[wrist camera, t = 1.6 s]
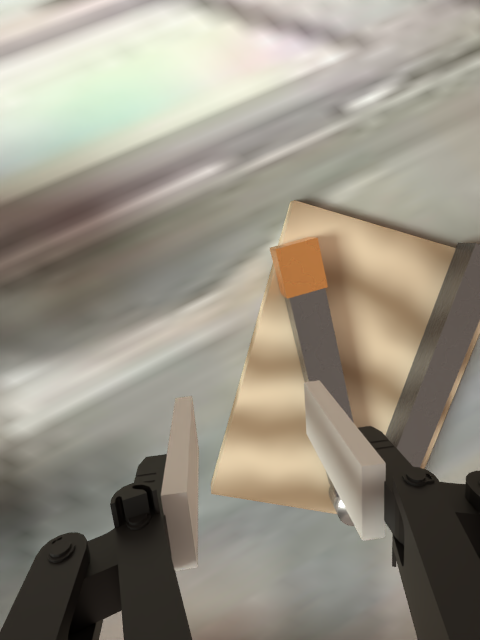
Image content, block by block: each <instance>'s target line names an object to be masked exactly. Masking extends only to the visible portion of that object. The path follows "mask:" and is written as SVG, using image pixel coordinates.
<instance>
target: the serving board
mask: <svg viewBox="0 0 480 640" xmlns="http://www.w3.org/2000/svg"><path fill="white" fill-rule="evenodd" d="M307 237H318V241H319V246H320V251H321V256H322V261H323V266H324V270H325V275H326V280H327V285H328V287H327V288H325V289H326V294H327V299H328V303H329V308H330V313H331V318H332V322H333V327H334V332H335V337H336V341H337V346H338V351H339V356H340V360H341V365H342V370H343V375H344V380H345V384H346V389H347V394H348V399H349V403H350V408H351V413H352V418H353V422H354V424H355V425H356V427H357V428H358V427H365V426H372V427H374V428H376V429H378V430H379V431H381V432H382V433H383V434H384V435H386V432H387V430H388V427H389V424H390V422H391V419H392V416H393V414H394V411H395V408H396V406H397V403H398V400H399V398H400V395H401V393H402V390H403V387H404V385H405V382H406V379H407V377H408V374H409V371H410V369H411V366H412V363H413V361H414V358H415V355H416V353H417V350H418V348H419V345H420V342H421V340H422V337H423V334H424V332H425V329H426V326H427V324H428V321H429V318H430V316H431V313H432V310H433V308H434V305H435V302H436V300H437V297H438V295H439V292H440V289H441V287H442V284H443V281H444V279H445V276H446V273H447V271H448V268H449V265H450V263H451V260H452V257H453V255H454V252H455V249H456V248H453V247H450V246H447V245H443V244H440V243H436V242H433V241H430V240H426V239H423V238H420V237H416V236H413V235H410V234H406V233H403V232H399V231H396V230H393V229H389V228H386V227H383V226H379V225H376V224H373V223H369V222H366V221H363V220H359V219H356V218H352V217H349V216H346V215H342V214H339V213H336V212H332V211H329V210H326V209H322V208H319V207H316V206H312V205H309V204H305V203H302V202H299V201H295V200H294V201H291V202H290V205H289V209H288V212H287V216H286V219H285V223H284V226H283V230H282V233H281V237H280V240H279V244H278V246H279V245H282V244H286V243H289V242H293V241H297V240H300V239H304V238H307ZM479 334H480V321H479V323H478V326H477V328H476V331H475V333H474V336H473V338H472V341H471V343H470V346H469V348H468V351H467V353H466V355H465V358H464V360H463V363H462V365H461V368H460V370H459V373H458V375H457V378H456V380H455V383H454V385H453V388H452V390H451V392H450V395H449V397H448V400H447V402H446V405H445V407H444V410H443V412H442V415H441V417H440V420H439V422H438V424H437V427H436V429H435V432H434V434H433V437H432V439H431V442H430V444H429V447H428V449H427V452H426V454H425V457H424V459H423V461H422V464H421V466H420V468H422V469H424V468H425V466H426V464H427V461H428V459H429V456H430V454H431V451H432V449H433V446H434V444H435V442H436V439H437V437H438V434H439V432H440V429H441V427H442V424H443V422H444V420H445V417H446V415H447V412H448V410H449V407H450V405H451V402H452V400H453V398H454V395H455V393H456V390H457V388H458V385H459V383H460V380H461V378H462V376H463V373H464V371H465V368H466V366H467V363H468V361H469V358H470V356H471V354H472V351H473V349H474V346H475V344H476V341H477V339H478V336H479ZM329 487H330V484H329V481H328V477H327V473H326V470H325V468H324V466H323V464H322V462H321V461H320V459H319V457H318V455H317V453H316V451H315V449H314V447H313V445H312V443H311V441H310V439H309V438H308V436H307V434H306V414H305V394H304V377H303V373H302V369H301V365H300V361H299V357H298V352H297V348H296V344H295V340H294V336H293V332H292V327H291V323H290V319H289V315H288V311H287V307H286V302H285V298H284V296H283V295H282V294H281V292H280V288H279V284H278V280H277V276H276V272H275V268H274V263H273V265H272V269H271V272H270V276H269V279H268V283H267V287H266V290H265V294H264V297H263V301H262V304H261V308H260V311H259V315H258V319H257V322H256V326H255V329H254V333H253V336H252V340H251V343H250V347H249V350H248V354H247V358H246V361H245V365H244V368H243V372H242V375H241V379H240V382H239V386H238V389H237V393H236V397H235V400H234V404H233V407H232V411H231V414H230V418H229V421H228V425H227V429H226V432H225V436H224V439H223V443H222V446H221V450H220V453H219V457H218V460H217V464H216V468H215V471H214V475H213V478H212V482H211V494H216V495H223V496H229V497H235V498H241V499H247V500H254V501H260V502H266V503H272V504H278V505H284V506H291V507H297V508H303V509H309V510H315V511H322V512H328V513H334V514H337V512H336V510H335V508H334V506H333V504H332V502H331V500H330V498H329Z"/></svg>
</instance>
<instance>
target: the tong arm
mask: <svg viewBox="0 0 480 640" xmlns="http://www.w3.org/2000/svg"><path fill="white" fill-rule="evenodd" d="M270 251H271V255H272V259H273V263H274V268H275V272H276V276H277V280H278V284H279V288H280V292H281V294H282V295H283V296H284V298H285V302H286V307H287V311H288V315H289V319H290V323H291V327H292V332H293V336H294V340H295V344H296V348H297V352H298V357H299V361H300V365H301V369H302V373H303V377H304V382H310V381H318V380H320V382H321V383H322V384H323V385H324V387H325V388H326V389H327V390H328V392H329V393H330V394H331V395H332V397H333V398H334V399H335V400H336V402H337V403H338V404H339V405H340V407H341V408H342V409H343V410H344V412H345V413H346V414H347V415H348V417H349V418H350V419H351V420H352V422H353V418H352V413H351V408H350V403H349V399H348V394H347V389H346V384H345V380H344V375H343V370H342V365H341V360H340V356H339V351H338V346H337V341H336V337H335V332H334V327H333V322H332V318H331V313H330V308H329V303H328V299H327V294H326V289H325V288H327V287H328V285H327V280H326V275H325V270H324V266H323V261H322V256H321V251H320V246H319V241H318V237H307V238H304V239H300V240H297V241H293V242H289V243H286V244H282V245H279V246H275V247H271V248H270ZM353 423H354V422H353ZM326 473H327V472H326ZM327 477H328V481H329V484H330V487H329V498H330V500H331V502H332V504H333V506H334V508H335V510H336V512H337V514H338V516H339V518H340V520H341V521H342V522H343V523H345V524H347V525H350V526H355V525H354V524H353V522H352V520H351V518H350V516H349V514H348V512H347V510H346V508H345V506H344V504H343V503H342V501H341V499H340V497H339V495H338V493H337V491H336V489H335V487H334V485H333V483H332V482H331V480H330V478H329V476H328V474H327Z"/></svg>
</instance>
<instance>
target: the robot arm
mask: <svg viewBox="0 0 480 640" xmlns="http://www.w3.org/2000/svg"><path fill="white" fill-rule="evenodd" d="M304 394H305V414H306V434H307V436H308V438H309V439H310V441H311V443H312V445H313V447H314V449H315V451H316V453H317V455H318V457H319V459H320V461H321V462H322V464H323V466H324V468H325V470H326V472H327V474H328V476H329V478H330V480H331V482H332V483H333V485H334V487H335V489H336V491H337V493H338V495H339V497H340V499H341V501H342V503H343V504H344V506H345V508H346V510H347V512H348V514H349V516H350V518H351V520H352V522H353V524H354V525H355V527H356V529H357V531H358V533H359V535H360V537H361V539H362V541H365V540H371V539H377V538H384V537H385V522H386V524H387V525H388V527H389V528H390V530H391V532H392V533H393V543H392V566H394V567H396V561H397V564H398V568H399V572H400V576H401V579H402V583H403V587H404V590H405V594H406V598H407V601H408V605H409V609H410V612H411V616H412V620H413V623H414V627H415V631H416V635H417V638H418V640H480V471H474V472H471V473H469V474H468V475H467V476H466V484H455V483H444V482H439V480H438V479H437V478H436V477H435V475H434V474H432V473H431V472H429V471H427V470H425V469H422V468H419V467H414V466H412V465H411V464H410V463H409V461H408V460H407V459H406V458H405V457H404V456H403V455H402V454H401V453H400V451H399V450H398V449H397V448H396V447H394V445H393V444H392V443H391V442H390V441H389V439H388V438H387V437H386V436H385V435H384V434H383V433H382V432H381V431H379V430H378V429H376V428H374V427H372V426H365V427H358V428H357V427H356V425H355V424H354V423H353V422H352V420H351V419H350V418H349V417H348V415H347V414H346V413H345V412H344V410H343V409H342V408H341V407H340V405H339V404H338V403H337V402H336V400H335V399H334V398H333V397H332V395H331V394H330V393H329V392H328V390H327V389H326V388H325V387H324V385H323V384H322V383H321V382H320V380H318V381H310V382H304ZM198 461H199V447H198V439H197V432H196V424H195V416H194V408H193V400H192V396H189V397H181V398H175V405H174V412H173V418H172V425H171V431H170V438H169V444H168V451H167V454H165V455H158V456H150V457H146V458H145V459H144V460H143V461H142V462H141V464H140V465H139V466H138V469H137V473H136V477H135V481H134V483H132V484H129V485H127V486H124V487H123V488H121V489H120V490H119V491H117V492H116V493H115V494H114V496H113V497H112V499H111V503H110V505H111V510H112V515H113V520H114V525H115V528H114V529H113V530H111V531H110V532H108V533H106V534H104V535H102V536H100V537H97V538H95V539H92V540H90V541H87V540H86V538H85V536H84V535H82V534H80V533H66V534H63V535H60V536H58V537H56V538H54V539H52V540H50V541H49V542H48V543H47V544H46V545H44V546H43V547H42V548H41V550H40V551H39V553H38V554H37V555H36V557H35V560H34V562H33V564H32V566H31V568H30V570H29V572H28V574H27V576H26V579H25V581H24V583H23V585H22V587H21V589H20V591H19V593H18V595H17V597H16V600H15V602H14V604H13V606H12V608H11V610H10V612H9V614H8V616H7V619H6V621H5V623H4V625H3V627H2V629H1V631H0V640H99V636H100V631H101V627H102V623H103V619H105V618H107V617H109V616H111V615H113V614H115V613H117V612H119V611H121V610H122V621H123V633H124V640H192V637H191V633H190V629H189V625H188V621H187V617H186V613H185V609H184V605H183V601H182V597H181V593H180V589H179V585H178V581H177V577H176V573H175V571H177V570H184V569H190V568H196V567H197V560H198Z"/></svg>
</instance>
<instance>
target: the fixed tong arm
mask: <svg viewBox="0 0 480 640" xmlns="http://www.w3.org/2000/svg"><path fill="white" fill-rule="evenodd" d="M479 321H480V244H476V243H458V244H457V247H456V249H455V252H454V255H453V257H452V260H451V263H450V265H449V268H448V271H447V273H446V276H445V279H444V281H443V284H442V287H441V289H440V292H439V295H438V297H437V300H436V302H435V305H434V308H433V310H432V313H431V316H430V318H429V321H428V324H427V326H426V329H425V332H424V334H423V337H422V340H421V342H420V345H419V348H418V350H417V353H416V355H415V358H414V361H413V363H412V366H411V369H410V371H409V374H408V377H407V379H406V382H405V385H404V387H403V390H402V393H401V395H400V398H399V400H398V403H397V406H396V408H395V411H394V414H393V416H392V419H391V422H390V424H389V427H388V430H387V432H386V435H385V436H386V437H387V438H388V439H389V441H390V442H391V443H392V444H393V445H394V447H396V448H397V449H398V450H399V451H400V453H401V454H402V455H403V456H404V457H405V458H406V459H407V460H408V461H409V463H410V464H411V465H412V466H414V467H419V468H420V466H421V464H422V461H423V459H424V457H425V454H426V452H427V449H428V447H429V444H430V442H431V439H432V437H433V434H434V432H435V429H436V427H437V424H438V422H439V420H440V417H441V415H442V412H443V410H444V407H445V405H446V402H447V400H448V397H449V395H450V392H451V390H452V388H453V385H454V383H455V380H456V378H457V375H458V373H459V370H460V368H461V365H462V363H463V360H464V358H465V355H466V353H467V351H468V348H469V346H470V343H471V341H472V338H473V336H474V333H475V331H476V328H477V326H478V323H479Z"/></svg>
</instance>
